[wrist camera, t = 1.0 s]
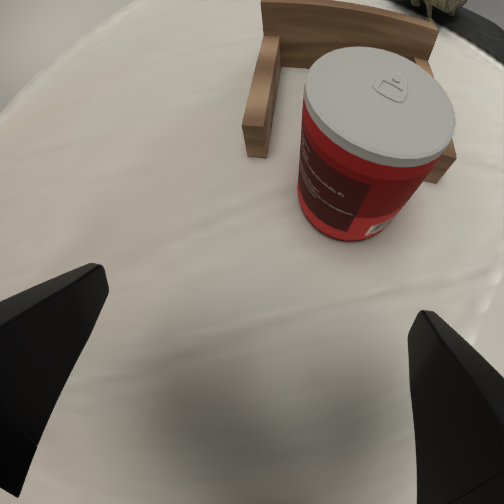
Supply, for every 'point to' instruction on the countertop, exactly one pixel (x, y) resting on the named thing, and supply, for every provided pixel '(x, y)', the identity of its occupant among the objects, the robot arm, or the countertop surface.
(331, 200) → the canned food
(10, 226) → the countertop surface
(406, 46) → the cradle
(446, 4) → the tabletop clock
